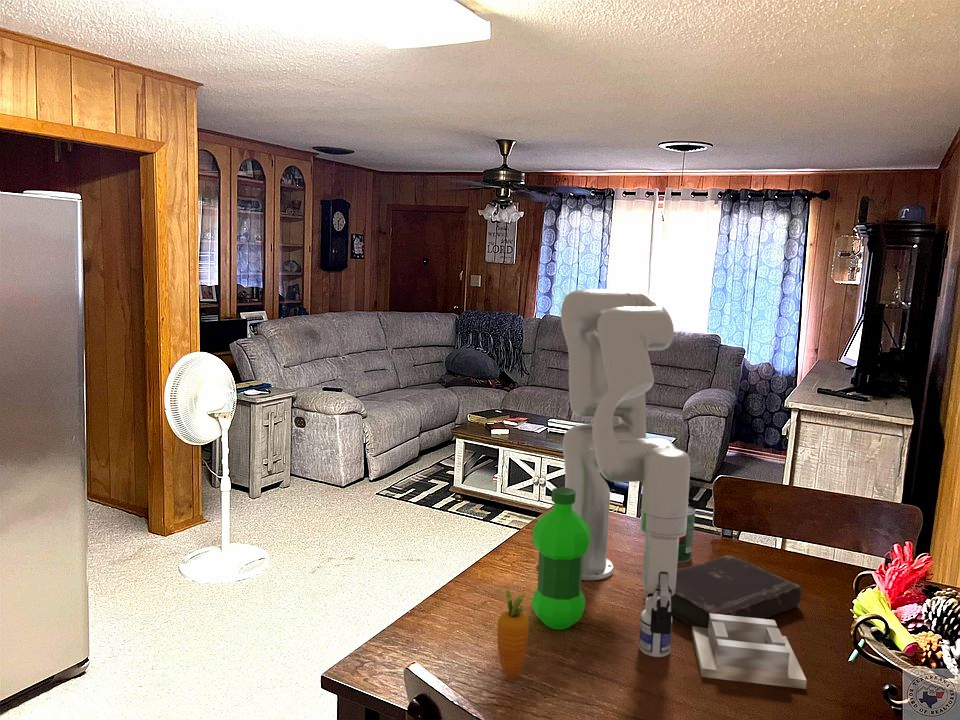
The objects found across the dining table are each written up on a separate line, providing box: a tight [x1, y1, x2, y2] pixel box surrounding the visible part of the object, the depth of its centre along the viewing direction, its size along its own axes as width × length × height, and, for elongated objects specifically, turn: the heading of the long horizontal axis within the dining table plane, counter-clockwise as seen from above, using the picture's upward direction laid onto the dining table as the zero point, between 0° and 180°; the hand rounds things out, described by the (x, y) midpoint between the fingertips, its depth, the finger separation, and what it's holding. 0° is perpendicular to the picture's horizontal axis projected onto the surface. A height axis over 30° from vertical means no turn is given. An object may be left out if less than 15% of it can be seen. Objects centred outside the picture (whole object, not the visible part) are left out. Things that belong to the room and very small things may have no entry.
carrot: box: [497, 589, 530, 683], centre depth 117 cm, size 5×5×15 cm
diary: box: [643, 554, 802, 628], centre depth 146 cm, size 19×25×5 cm
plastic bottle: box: [531, 487, 591, 630], centre depth 136 cm, size 10×10×25 cm
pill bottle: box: [638, 596, 673, 658], centre depth 129 cm, size 5×5×9 cm
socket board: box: [691, 613, 807, 690], centre depth 126 cm, size 16×14×5 cm
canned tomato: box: [678, 505, 696, 564], centre depth 169 cm, size 8×8×11 cm
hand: (658, 619), depth 128 cm, fingers open, 9 cm apart
